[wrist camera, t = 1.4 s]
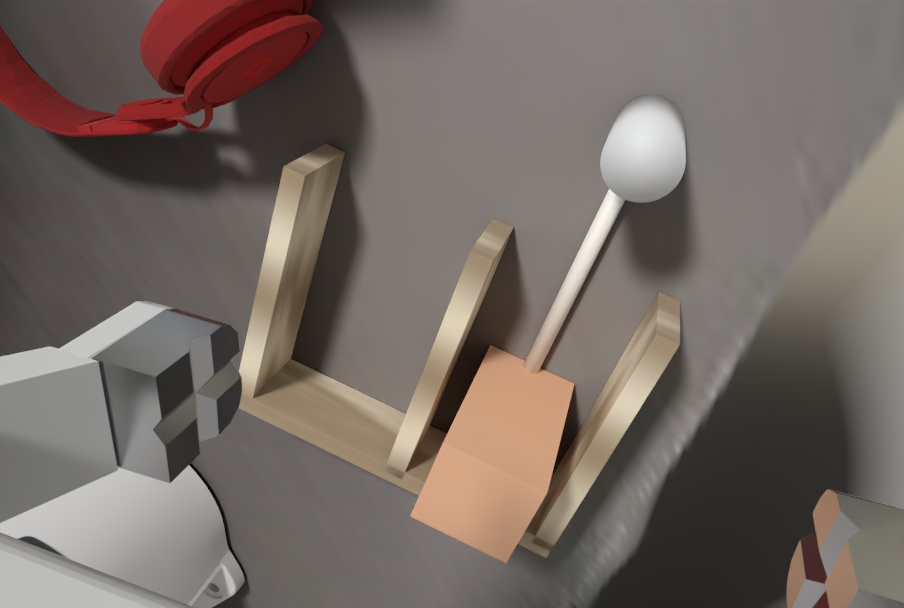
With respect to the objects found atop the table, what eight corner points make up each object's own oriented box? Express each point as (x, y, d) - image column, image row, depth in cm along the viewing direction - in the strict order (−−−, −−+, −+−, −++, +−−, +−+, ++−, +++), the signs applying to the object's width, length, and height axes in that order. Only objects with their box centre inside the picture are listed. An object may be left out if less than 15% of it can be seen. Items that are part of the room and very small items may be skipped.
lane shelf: (558, 502, 37) (546, 558, 34) (271, 364, 39) (231, 404, 36) (680, 301, 31) (679, 345, 27) (325, 143, 32) (283, 166, 29)
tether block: (539, 448, 36) (506, 563, 29) (460, 411, 37) (410, 516, 30) (719, 120, 27) (731, 177, 20) (611, 75, 27) (588, 115, 21)
